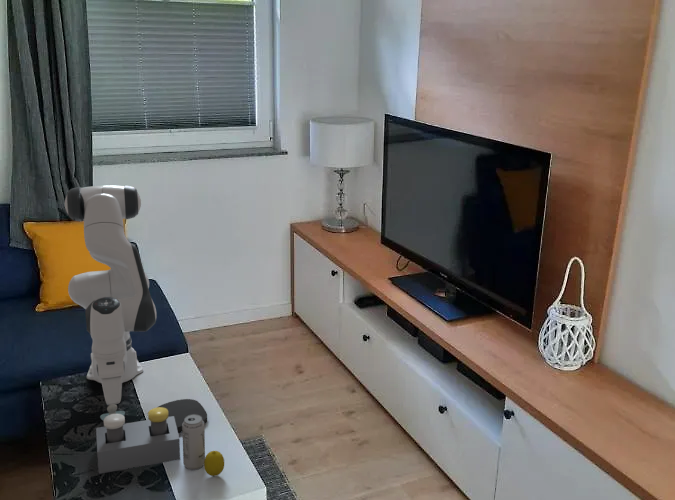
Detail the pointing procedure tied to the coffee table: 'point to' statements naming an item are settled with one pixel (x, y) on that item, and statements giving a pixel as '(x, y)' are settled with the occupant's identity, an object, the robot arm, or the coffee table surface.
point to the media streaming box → (184, 410)
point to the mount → (137, 446)
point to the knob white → (114, 427)
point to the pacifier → (112, 411)
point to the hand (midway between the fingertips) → (112, 400)
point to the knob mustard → (158, 421)
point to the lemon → (214, 463)
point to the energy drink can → (193, 442)
